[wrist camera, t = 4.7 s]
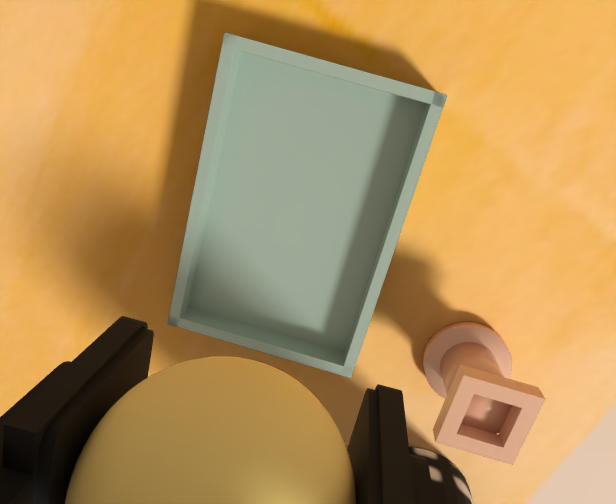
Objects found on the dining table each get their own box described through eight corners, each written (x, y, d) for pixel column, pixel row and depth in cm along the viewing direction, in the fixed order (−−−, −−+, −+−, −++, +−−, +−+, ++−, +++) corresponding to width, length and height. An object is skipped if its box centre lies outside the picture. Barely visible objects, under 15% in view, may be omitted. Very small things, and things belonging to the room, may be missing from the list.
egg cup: (439, 311, 29) (457, 363, 24) (521, 335, 29) (559, 393, 23) (411, 382, 31) (422, 447, 25) (489, 405, 31) (518, 475, 25)
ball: (157, 286, 11) (-12, 444, 6) (385, 347, 10) (400, 558, 6) (131, 468, 12) (-18, 708, 8) (328, 524, 12) (303, 803, 7)
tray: (236, 38, 26) (224, 32, 24) (440, 95, 26) (447, 94, 24) (181, 307, 31) (167, 324, 29) (351, 357, 31) (350, 378, 28)
